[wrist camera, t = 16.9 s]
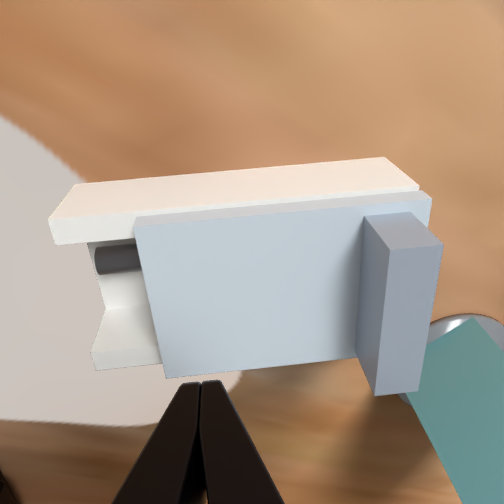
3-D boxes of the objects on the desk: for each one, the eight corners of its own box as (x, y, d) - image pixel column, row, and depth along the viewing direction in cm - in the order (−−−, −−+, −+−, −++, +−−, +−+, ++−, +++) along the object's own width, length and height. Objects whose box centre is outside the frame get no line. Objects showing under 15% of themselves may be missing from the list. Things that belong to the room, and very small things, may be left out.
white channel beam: (112, 319, 21) (96, 370, 18) (74, 184, 18) (47, 220, 15) (372, 292, 22) (398, 338, 19) (384, 156, 18) (419, 185, 15)
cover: (167, 364, 18) (160, 428, 15) (136, 216, 15) (119, 264, 12) (401, 339, 19) (435, 396, 16) (422, 190, 15) (469, 230, 12)
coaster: (385, 411, 26) (387, 417, 26) (397, 320, 23) (400, 325, 23) (496, 398, 27) (500, 404, 26) (524, 306, 23) (529, 311, 23)
